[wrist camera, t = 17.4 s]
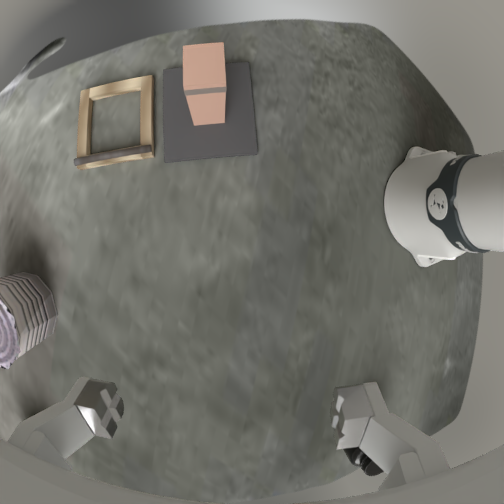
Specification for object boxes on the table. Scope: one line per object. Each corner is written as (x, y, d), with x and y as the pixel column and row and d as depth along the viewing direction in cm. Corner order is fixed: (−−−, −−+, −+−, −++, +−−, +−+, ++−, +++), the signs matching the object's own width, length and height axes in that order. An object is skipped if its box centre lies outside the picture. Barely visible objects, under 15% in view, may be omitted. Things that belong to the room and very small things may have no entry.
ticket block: (222, 89, 36) (223, 41, 24) (225, 123, 36) (226, 83, 24) (192, 92, 35) (182, 45, 24) (193, 126, 36) (182, 87, 24)
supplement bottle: (373, 423, 44) (404, 462, 32) (341, 443, 44) (366, 486, 32) (361, 401, 43) (393, 442, 31) (327, 423, 43) (351, 469, 31)
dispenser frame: (154, 79, 35) (150, 71, 33) (154, 157, 37) (150, 152, 34) (85, 94, 34) (78, 88, 32) (81, 169, 36) (73, 167, 33)
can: (24, 255, 36) (-26, 265, 24) (70, 309, 37) (26, 335, 25) (-2, 304, 36) (-46, 323, 24) (40, 354, 37) (0, 385, 25)
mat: (248, 64, 37) (248, 62, 36) (257, 154, 38) (257, 153, 37) (164, 72, 35) (163, 69, 35) (165, 162, 37) (164, 161, 36)
